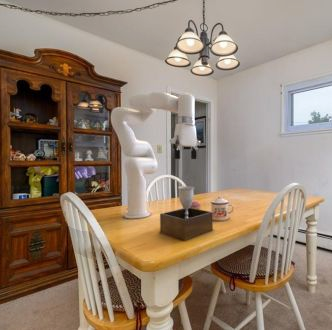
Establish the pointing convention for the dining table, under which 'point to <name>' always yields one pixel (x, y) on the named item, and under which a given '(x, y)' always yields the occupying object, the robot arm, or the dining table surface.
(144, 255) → the dining table surface
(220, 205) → the teacup with lid
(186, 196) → the chalice
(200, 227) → the crate
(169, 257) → the dining table surface
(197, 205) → the red onion
